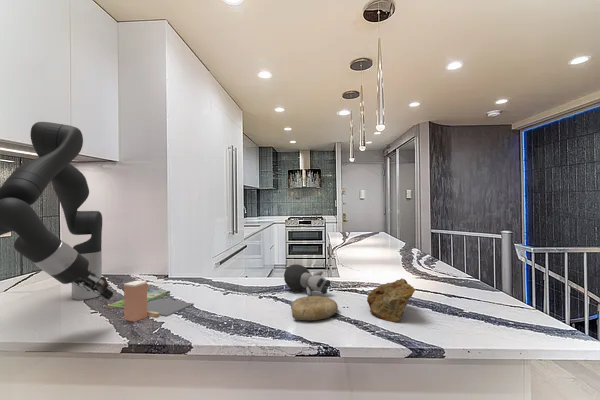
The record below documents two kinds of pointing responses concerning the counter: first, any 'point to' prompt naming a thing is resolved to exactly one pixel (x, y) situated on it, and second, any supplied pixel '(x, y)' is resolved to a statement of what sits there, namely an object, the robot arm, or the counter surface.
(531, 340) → the counter surface
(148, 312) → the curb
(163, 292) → the green flat panel
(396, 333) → the counter surface
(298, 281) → the toy
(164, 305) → the mat
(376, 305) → the rock
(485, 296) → the counter surface
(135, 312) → the block
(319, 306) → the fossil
